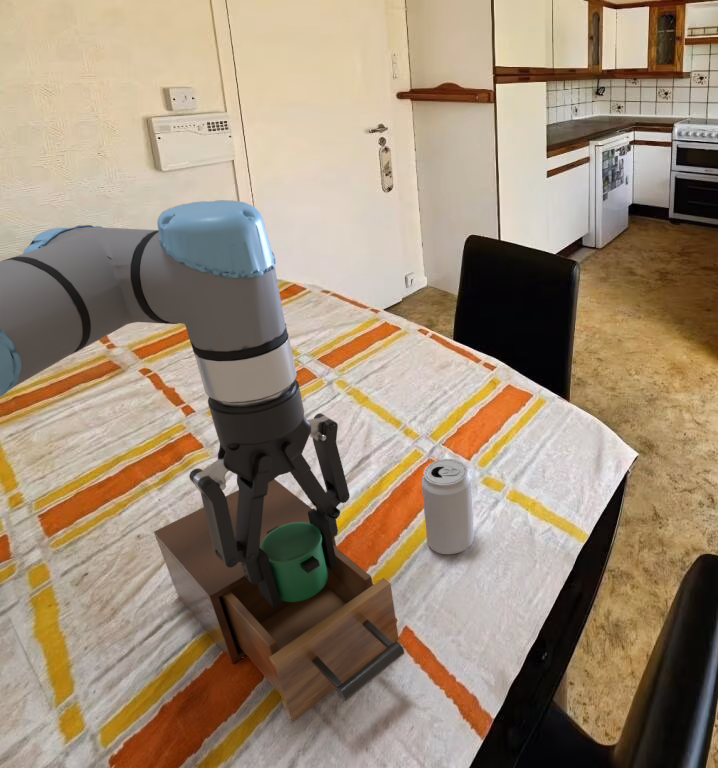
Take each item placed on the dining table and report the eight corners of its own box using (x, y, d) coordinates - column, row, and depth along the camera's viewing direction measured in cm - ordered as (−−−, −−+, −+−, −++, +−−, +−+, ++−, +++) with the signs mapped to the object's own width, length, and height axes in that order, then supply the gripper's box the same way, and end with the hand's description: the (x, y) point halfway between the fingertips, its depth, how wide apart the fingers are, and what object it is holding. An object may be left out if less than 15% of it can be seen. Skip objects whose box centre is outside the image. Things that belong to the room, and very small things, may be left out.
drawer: (433, 669, 67) (426, 612, 63) (325, 763, 58) (309, 703, 54) (331, 579, 78) (320, 525, 74) (228, 646, 70) (209, 590, 66)
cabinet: (344, 589, 78) (332, 524, 73) (233, 664, 69) (209, 596, 64) (284, 536, 87) (269, 474, 82) (178, 596, 78) (153, 531, 72)
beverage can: (431, 525, 88) (424, 456, 83) (476, 526, 88) (472, 456, 82) (424, 558, 83) (416, 485, 77) (472, 558, 83) (468, 486, 77)
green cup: (255, 578, 66) (243, 539, 63) (305, 548, 70) (296, 510, 67) (294, 618, 61) (283, 577, 58) (346, 583, 65) (338, 543, 62)
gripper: (323, 340, 63) (354, 518, 74) (119, 414, 50) (193, 615, 61) (368, 362, 58) (394, 548, 69) (156, 449, 46) (229, 658, 57)
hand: (299, 579), depth 65 cm, fingers closed on green cup, 6 cm apart
